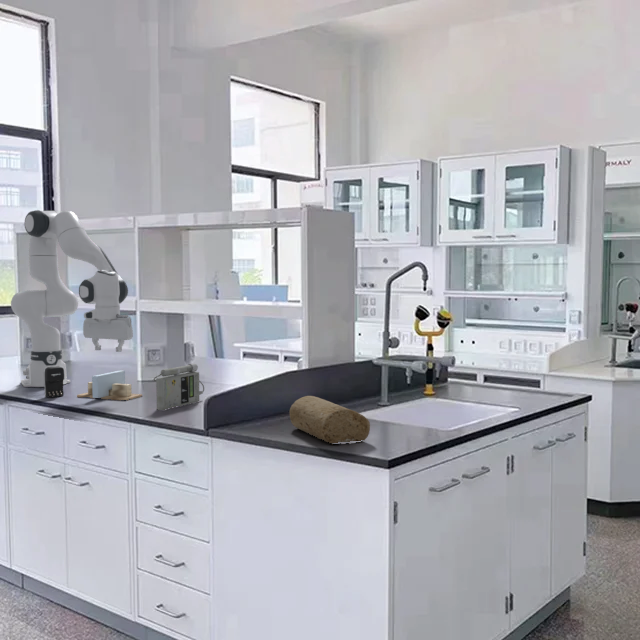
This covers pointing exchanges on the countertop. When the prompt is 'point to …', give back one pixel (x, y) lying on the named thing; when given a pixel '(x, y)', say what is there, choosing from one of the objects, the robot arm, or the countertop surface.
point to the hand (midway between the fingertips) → (108, 351)
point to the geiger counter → (178, 386)
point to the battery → (53, 381)
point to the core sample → (328, 420)
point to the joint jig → (114, 392)
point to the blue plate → (106, 383)
